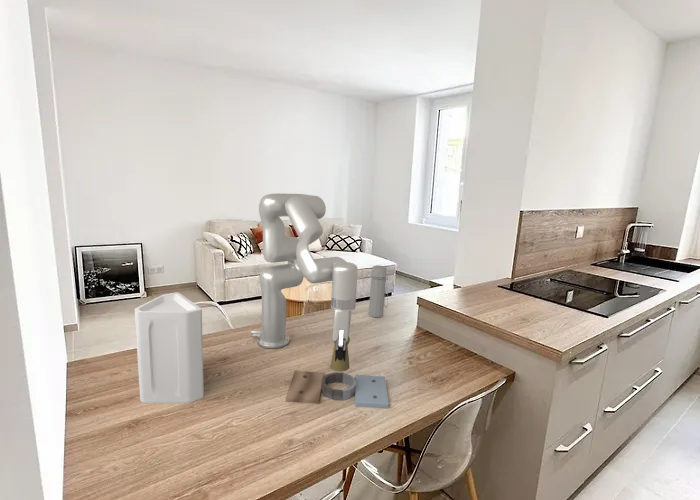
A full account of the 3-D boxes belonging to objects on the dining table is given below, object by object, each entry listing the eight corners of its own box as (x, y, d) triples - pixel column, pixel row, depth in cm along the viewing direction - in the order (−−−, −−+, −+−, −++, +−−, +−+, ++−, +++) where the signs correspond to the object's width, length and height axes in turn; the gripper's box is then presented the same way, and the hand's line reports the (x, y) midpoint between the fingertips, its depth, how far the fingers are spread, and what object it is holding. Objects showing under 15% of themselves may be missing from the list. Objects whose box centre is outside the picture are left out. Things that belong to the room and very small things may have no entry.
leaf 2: (340, 405, 113) (341, 396, 112) (342, 376, 128) (343, 368, 128) (388, 408, 113) (388, 399, 112) (384, 379, 128) (385, 371, 128)
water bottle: (367, 317, 183) (371, 268, 178) (369, 311, 191) (372, 264, 186) (386, 319, 182) (390, 270, 177) (387, 314, 189) (391, 266, 184)
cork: (351, 364, 120) (353, 332, 119) (345, 373, 115) (347, 339, 113) (334, 360, 122) (336, 329, 120) (327, 369, 117) (329, 335, 115)
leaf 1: (285, 401, 113) (286, 392, 112) (294, 373, 129) (294, 365, 128) (341, 405, 113) (341, 396, 112) (343, 377, 128) (343, 369, 128)
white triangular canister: (131, 386, 116) (125, 300, 110) (180, 371, 126) (177, 291, 120) (151, 417, 103) (146, 321, 97) (204, 397, 113) (202, 309, 107)
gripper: (333, 293, 123) (330, 345, 126) (329, 311, 107) (326, 370, 110) (355, 294, 123) (352, 346, 126) (355, 313, 106) (351, 371, 110)
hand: (340, 357), depth 118 cm, fingers closed on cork, 3 cm apart
